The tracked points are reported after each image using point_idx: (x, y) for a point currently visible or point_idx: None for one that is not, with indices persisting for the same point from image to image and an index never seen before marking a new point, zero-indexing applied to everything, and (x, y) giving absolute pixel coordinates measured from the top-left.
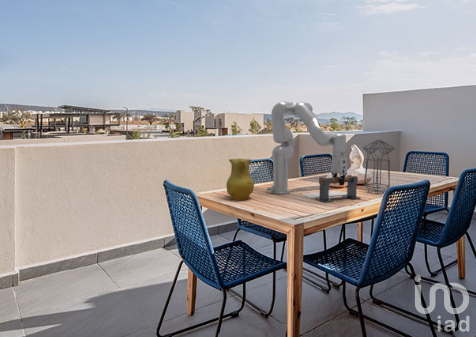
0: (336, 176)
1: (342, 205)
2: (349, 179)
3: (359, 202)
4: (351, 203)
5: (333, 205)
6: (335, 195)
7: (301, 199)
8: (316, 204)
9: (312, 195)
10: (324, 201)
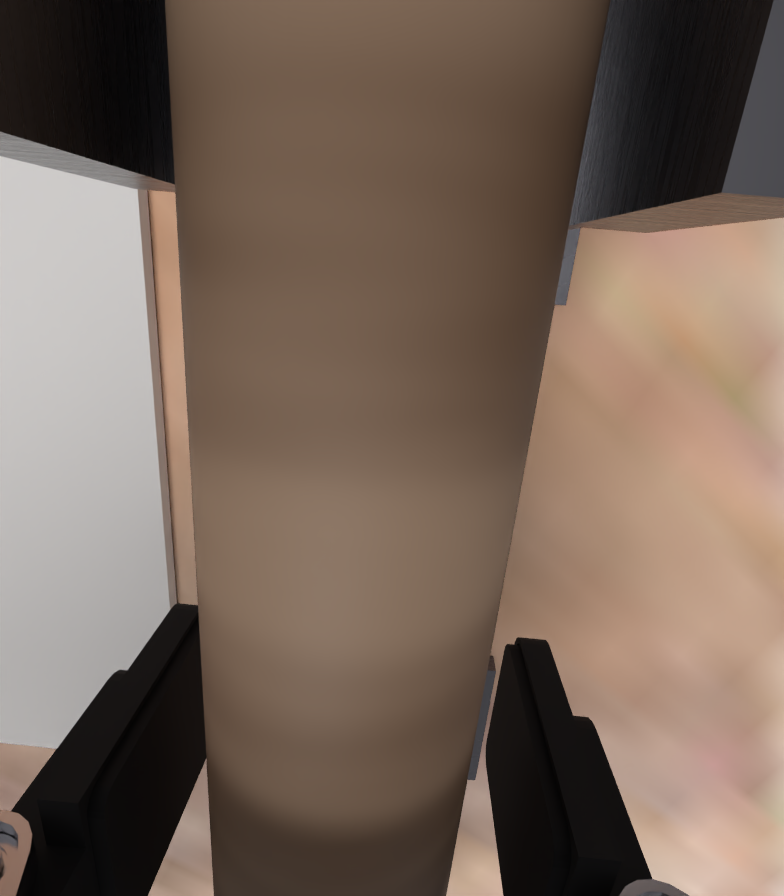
0: (67, 891)
1: (726, 693)
2: (535, 397)
3: (779, 354)
4: (732, 518)
5: (649, 769)
6: (152, 362)
7: (189, 844)
8: (491, 864)
9: (52, 672)
10: (473, 778)
